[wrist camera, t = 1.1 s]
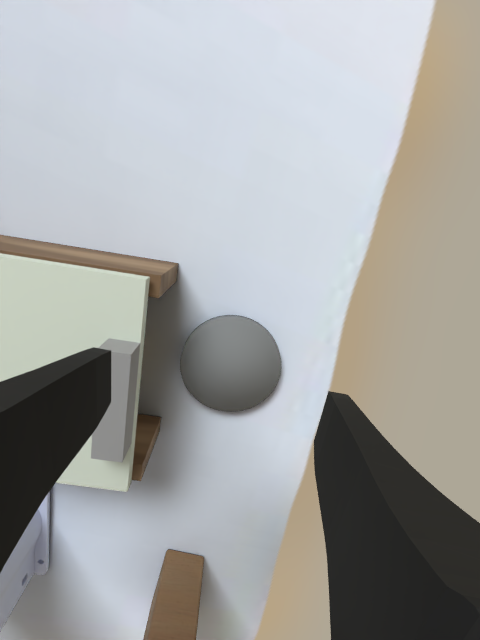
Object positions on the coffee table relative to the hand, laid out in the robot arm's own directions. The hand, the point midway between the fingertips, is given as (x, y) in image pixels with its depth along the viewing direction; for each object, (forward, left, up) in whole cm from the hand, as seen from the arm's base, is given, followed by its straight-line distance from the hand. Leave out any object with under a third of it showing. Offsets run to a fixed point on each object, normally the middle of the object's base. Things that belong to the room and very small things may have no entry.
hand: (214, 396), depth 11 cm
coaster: (-4, -1, -13) cm, 14 cm away
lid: (-4, +9, -7) cm, 12 cm away
